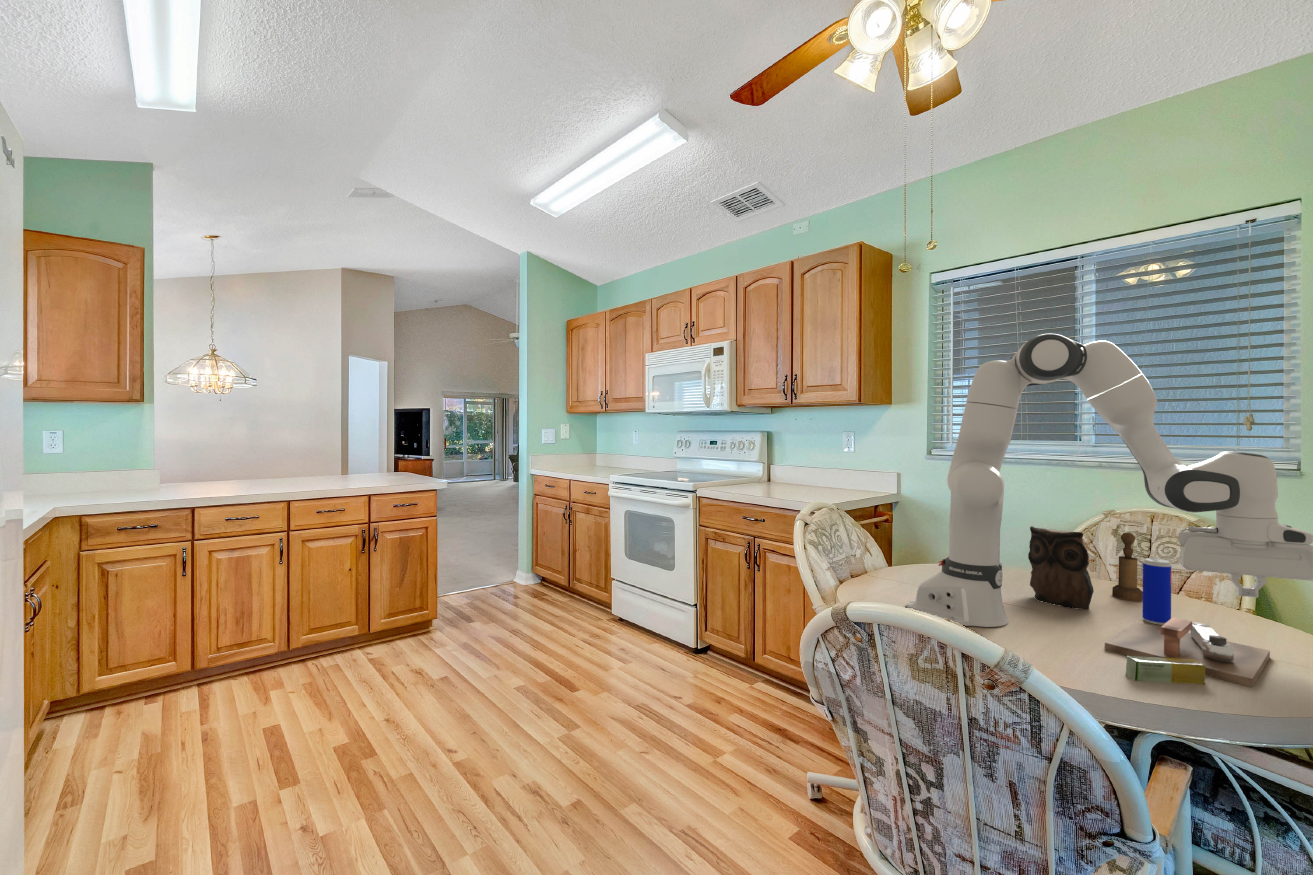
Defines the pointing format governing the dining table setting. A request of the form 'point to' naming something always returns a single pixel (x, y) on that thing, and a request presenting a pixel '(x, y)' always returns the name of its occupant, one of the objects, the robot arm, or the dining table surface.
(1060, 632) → the dining table surface
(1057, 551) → the owl
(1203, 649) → the steel link
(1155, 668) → the medication box
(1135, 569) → the brown wooden upright piece
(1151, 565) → the beverage can
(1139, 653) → the walnut base plate
